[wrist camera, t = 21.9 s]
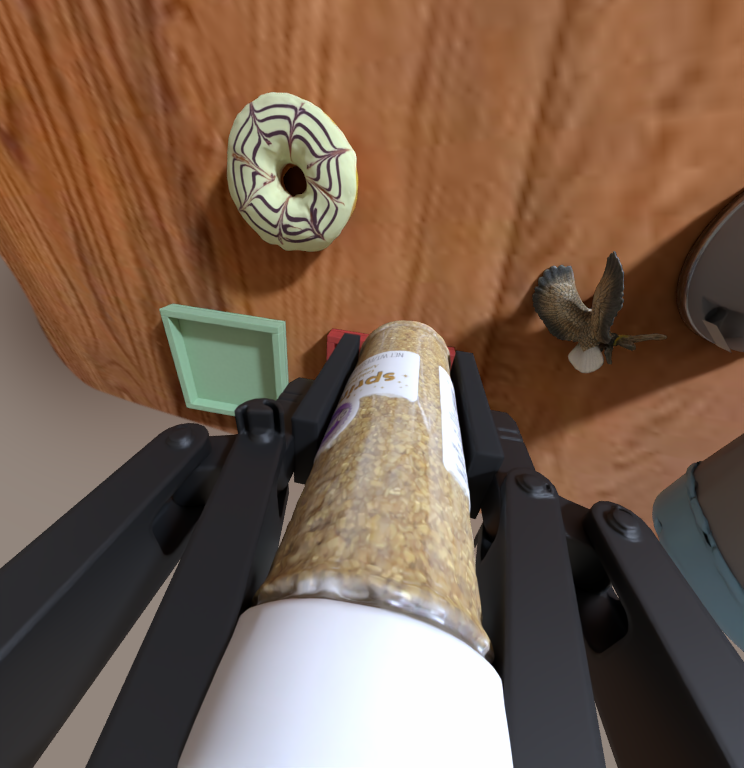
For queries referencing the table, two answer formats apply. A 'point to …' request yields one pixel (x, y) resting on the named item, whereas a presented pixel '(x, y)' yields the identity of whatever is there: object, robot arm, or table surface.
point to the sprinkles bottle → (368, 595)
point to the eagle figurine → (585, 314)
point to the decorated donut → (273, 159)
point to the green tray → (225, 357)
